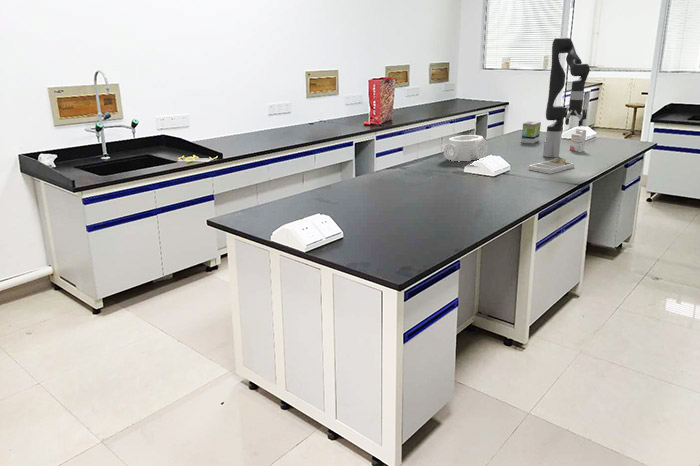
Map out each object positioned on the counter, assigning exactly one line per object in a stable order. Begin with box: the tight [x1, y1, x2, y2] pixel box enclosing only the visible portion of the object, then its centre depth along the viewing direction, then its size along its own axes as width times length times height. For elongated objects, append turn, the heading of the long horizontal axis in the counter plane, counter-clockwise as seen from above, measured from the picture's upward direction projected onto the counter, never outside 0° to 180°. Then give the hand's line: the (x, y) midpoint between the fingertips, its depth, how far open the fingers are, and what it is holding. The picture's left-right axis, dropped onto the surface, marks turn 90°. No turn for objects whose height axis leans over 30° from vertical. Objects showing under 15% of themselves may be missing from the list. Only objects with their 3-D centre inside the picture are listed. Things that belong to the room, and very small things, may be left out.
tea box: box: [520, 121, 542, 144], centre depth 417 cm, size 15×10×15 cm
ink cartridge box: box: [569, 128, 587, 153], centre depth 379 cm, size 9×5×15 cm, turn 34°
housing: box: [443, 134, 489, 163], centre depth 364 cm, size 35×22×14 cm, turn 134°
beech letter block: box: [553, 157, 567, 165], centre depth 336 cm, size 5×5×5 cm
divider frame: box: [528, 159, 576, 175], centre depth 332 cm, size 15×25×2 cm, turn 127°
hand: (573, 125), depth 332 cm, fingers open, 8 cm apart
